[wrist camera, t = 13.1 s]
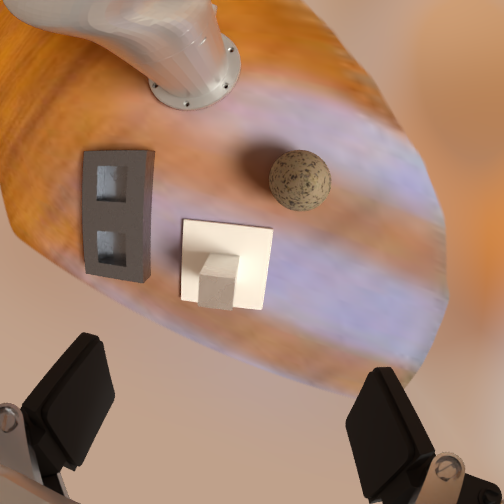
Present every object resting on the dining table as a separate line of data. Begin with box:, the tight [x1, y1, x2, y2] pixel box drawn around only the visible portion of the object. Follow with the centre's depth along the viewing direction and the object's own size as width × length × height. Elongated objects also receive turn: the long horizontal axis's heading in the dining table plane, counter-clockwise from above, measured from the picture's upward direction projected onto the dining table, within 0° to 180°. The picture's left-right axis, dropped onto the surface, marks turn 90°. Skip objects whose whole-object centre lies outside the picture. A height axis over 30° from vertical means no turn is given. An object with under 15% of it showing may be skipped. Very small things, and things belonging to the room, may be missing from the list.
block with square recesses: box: [82, 150, 155, 283], centre depth 36 cm, size 18×10×3 cm, turn 174°
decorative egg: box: [269, 150, 331, 211], centre depth 31 cm, size 7×7×10 cm
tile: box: [181, 219, 273, 310], centre depth 39 cm, size 12×12×1 cm
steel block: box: [198, 252, 240, 311], centre depth 35 cm, size 4×4×8 cm
